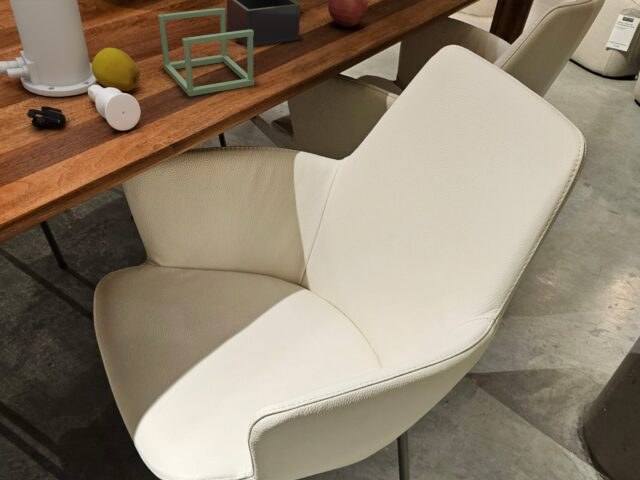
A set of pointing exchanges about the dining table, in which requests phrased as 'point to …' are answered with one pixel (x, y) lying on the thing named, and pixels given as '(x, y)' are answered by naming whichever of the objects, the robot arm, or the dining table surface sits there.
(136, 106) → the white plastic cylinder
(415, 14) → the dining table surface
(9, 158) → the dining table surface
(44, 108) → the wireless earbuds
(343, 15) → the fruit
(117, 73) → the lemon
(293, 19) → the dark grey storage box
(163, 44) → the rack
